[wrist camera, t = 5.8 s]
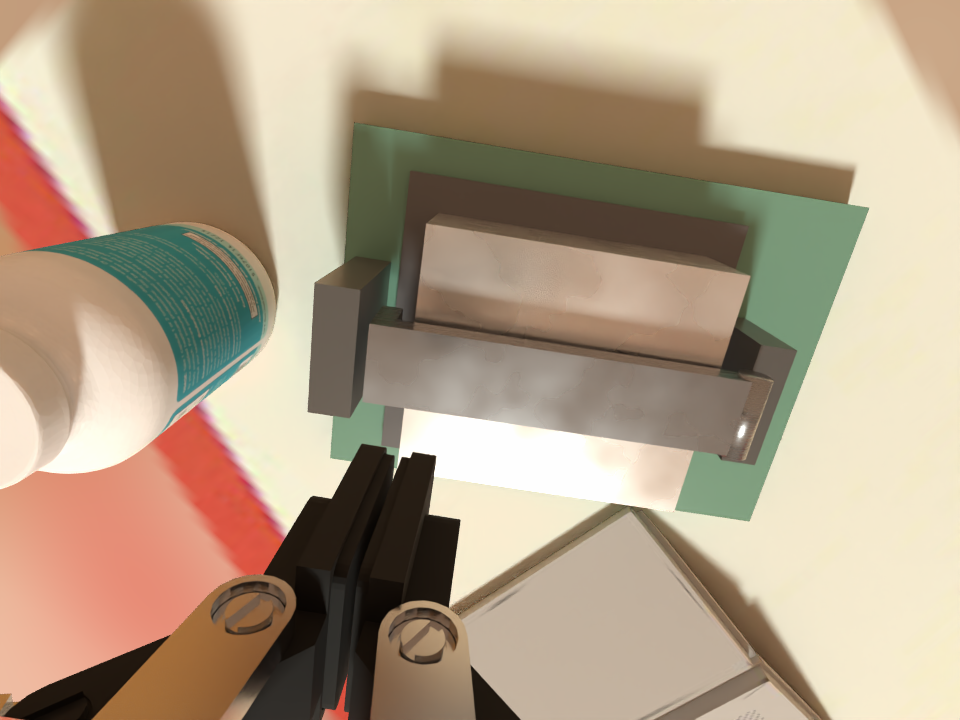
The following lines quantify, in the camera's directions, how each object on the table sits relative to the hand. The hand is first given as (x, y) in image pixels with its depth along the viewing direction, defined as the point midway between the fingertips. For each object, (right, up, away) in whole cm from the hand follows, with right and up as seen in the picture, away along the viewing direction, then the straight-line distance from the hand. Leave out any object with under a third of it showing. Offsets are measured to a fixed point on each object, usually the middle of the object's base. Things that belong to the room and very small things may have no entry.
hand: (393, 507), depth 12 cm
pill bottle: (-12, +6, +15) cm, 20 cm away
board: (+6, +4, +15) cm, 17 cm away
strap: (+5, +3, +10) cm, 12 cm away
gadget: (+12, -17, +23) cm, 31 cm away
